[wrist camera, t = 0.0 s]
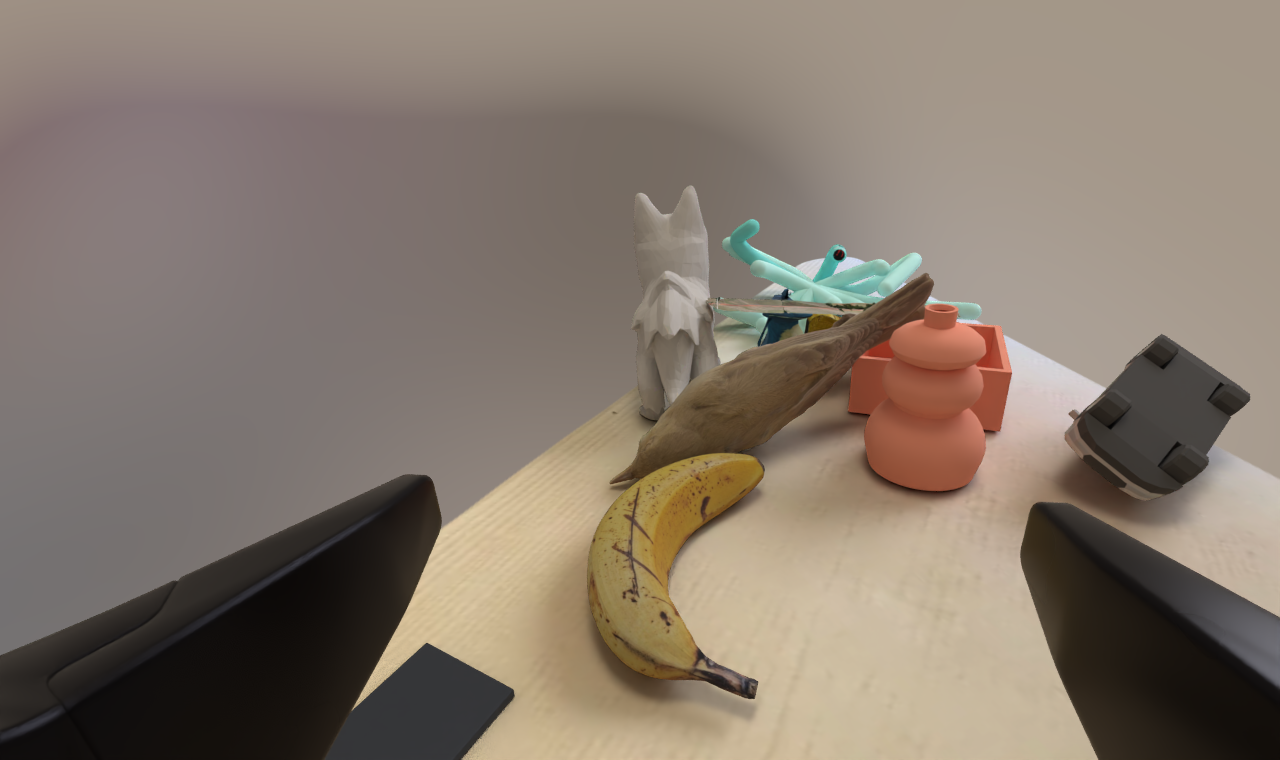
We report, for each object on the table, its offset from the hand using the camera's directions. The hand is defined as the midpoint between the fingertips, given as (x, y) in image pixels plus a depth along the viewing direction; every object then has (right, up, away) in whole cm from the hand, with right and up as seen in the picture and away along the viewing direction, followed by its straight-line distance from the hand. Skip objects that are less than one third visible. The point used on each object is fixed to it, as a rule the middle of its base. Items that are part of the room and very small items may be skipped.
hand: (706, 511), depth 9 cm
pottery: (+18, -1, +32) cm, 37 cm away
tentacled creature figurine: (+16, +10, +44) cm, 47 cm away
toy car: (+28, +1, +23) cm, 37 cm away
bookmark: (+14, +7, +36) cm, 39 cm away
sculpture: (+7, +2, +32) cm, 33 cm away
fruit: (+2, -7, +21) cm, 22 cm away
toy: (+3, +1, +40) cm, 40 cm away
